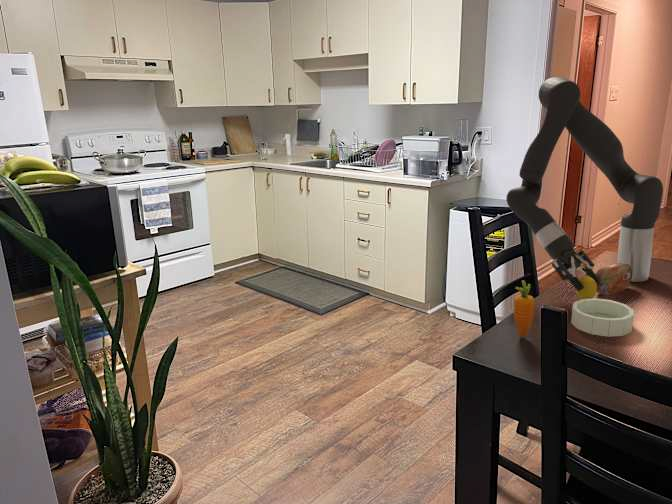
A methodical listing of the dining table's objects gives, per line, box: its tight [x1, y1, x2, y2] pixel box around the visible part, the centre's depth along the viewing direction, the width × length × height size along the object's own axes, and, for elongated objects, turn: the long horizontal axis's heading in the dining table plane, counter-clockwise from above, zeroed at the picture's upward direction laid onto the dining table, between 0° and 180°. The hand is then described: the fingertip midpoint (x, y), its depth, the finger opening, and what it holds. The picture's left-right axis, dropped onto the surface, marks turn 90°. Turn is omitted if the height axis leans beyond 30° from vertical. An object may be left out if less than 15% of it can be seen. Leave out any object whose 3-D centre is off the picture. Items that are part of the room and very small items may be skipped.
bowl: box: [570, 298, 635, 338], centre depth 133 cm, size 14×14×4 cm
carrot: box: [513, 280, 536, 339], centre depth 126 cm, size 5×5×15 cm
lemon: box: [574, 274, 597, 300], centre depth 147 cm, size 6×6×8 cm
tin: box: [595, 262, 632, 297], centre depth 154 cm, size 15×3×8 cm, turn 117°
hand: (589, 286), depth 146 cm, fingers open, 8 cm apart
